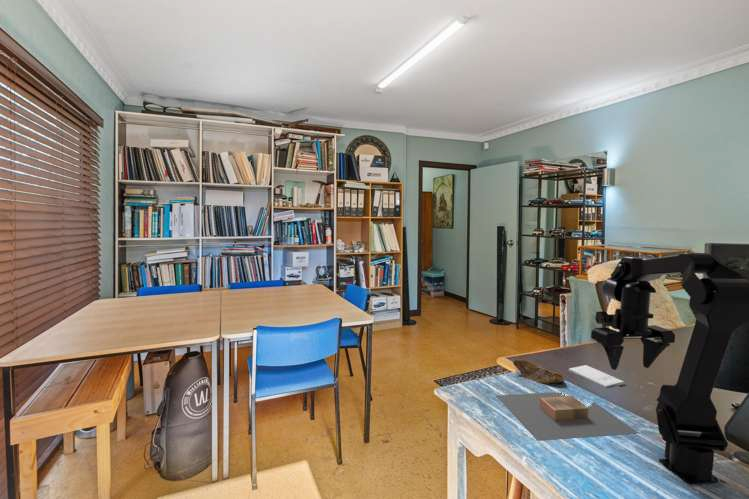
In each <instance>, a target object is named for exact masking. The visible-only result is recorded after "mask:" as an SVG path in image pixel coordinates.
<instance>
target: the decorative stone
mask: <svg viewBox="0 0 749 499" xmlns="http://www.w3.org/2000/svg"><path fill="white" fill-rule="evenodd" d="M512 364H513V365H514V366H515V368H516V369H517V370H518V372H520V373H521V374H522V376H523V377H524V378H526V379H529V380H530V379H531V381H533V382H535V381H536V383H539V384H545V385H547V384H557V383H564V382H565V378H564V377H563V376H562V375H561V374H559V373H558V372H555V371H553V370H550V369H546V368H543V367H542V366H540V365H538V364H536V363H534V362H531V361H528V360H525V359H520V358H515V359H513V362H512Z"/></svg>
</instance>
